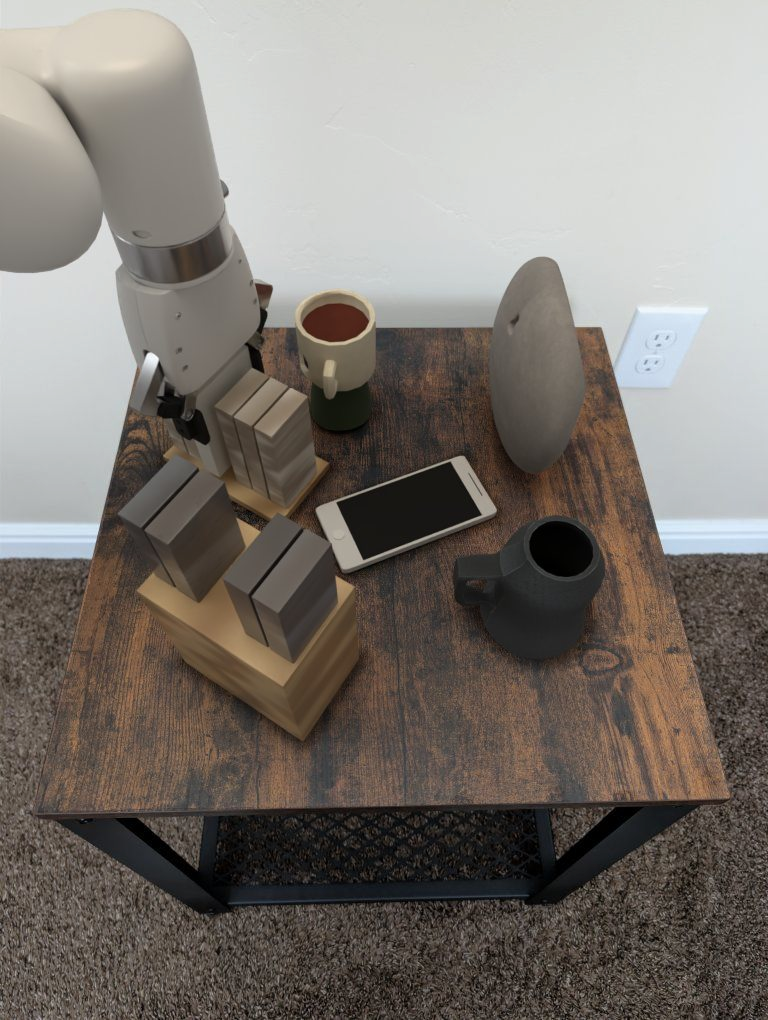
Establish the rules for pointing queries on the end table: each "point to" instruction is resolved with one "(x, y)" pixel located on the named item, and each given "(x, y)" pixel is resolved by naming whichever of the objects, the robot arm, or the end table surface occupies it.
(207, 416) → the grey flat block
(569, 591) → the mug
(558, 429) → the grey oval stone
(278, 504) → the grey-brown wooden block stand
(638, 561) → the end table surface
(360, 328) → the character mug
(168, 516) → the wooden stand
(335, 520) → the smartphone
